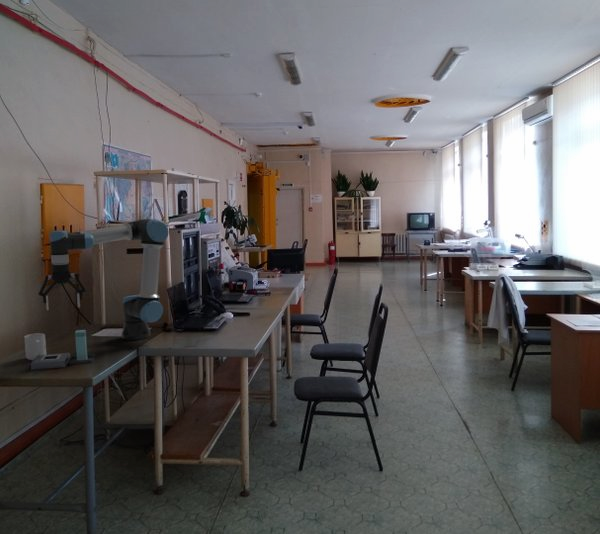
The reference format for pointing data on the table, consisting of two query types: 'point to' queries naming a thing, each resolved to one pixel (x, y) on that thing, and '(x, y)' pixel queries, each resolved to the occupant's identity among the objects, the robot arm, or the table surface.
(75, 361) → the dark grey square tray
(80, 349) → the plug
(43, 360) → the port
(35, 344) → the mug
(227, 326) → the table surface
